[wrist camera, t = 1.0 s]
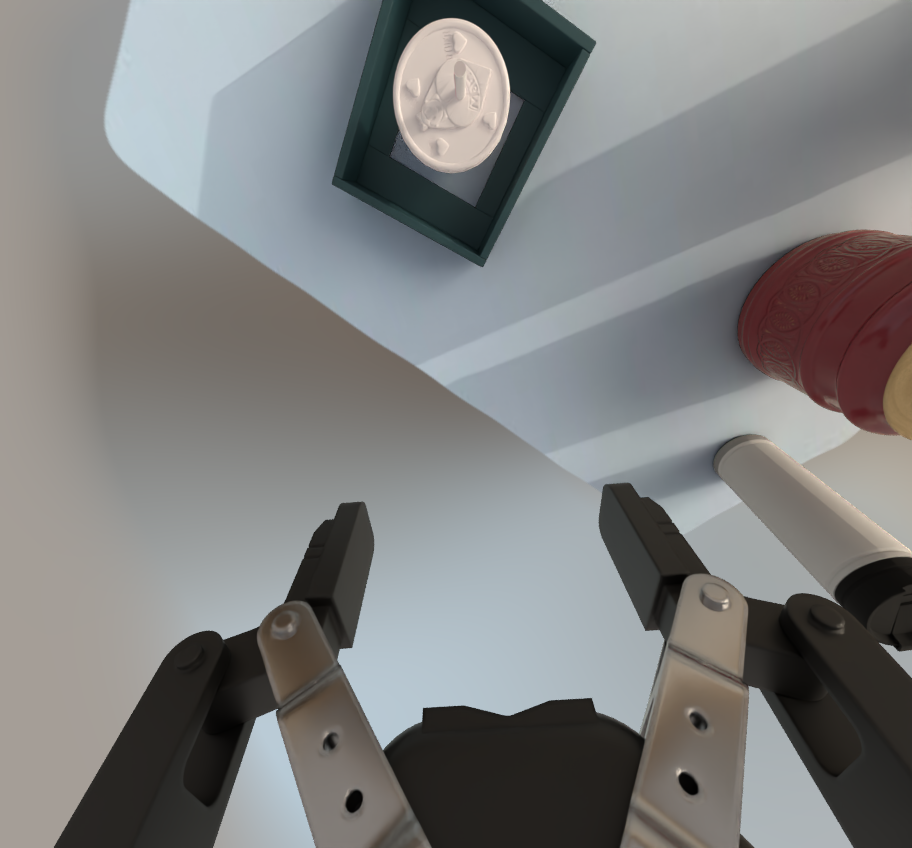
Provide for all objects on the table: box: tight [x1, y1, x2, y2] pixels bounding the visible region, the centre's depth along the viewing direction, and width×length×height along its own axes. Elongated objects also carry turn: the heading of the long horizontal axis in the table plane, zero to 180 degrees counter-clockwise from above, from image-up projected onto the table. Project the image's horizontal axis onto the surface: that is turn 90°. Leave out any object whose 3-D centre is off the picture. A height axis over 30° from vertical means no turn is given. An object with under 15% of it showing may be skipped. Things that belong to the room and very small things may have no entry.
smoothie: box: [393, 18, 510, 173], centre depth 22 cm, size 6×6×14 cm
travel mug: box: [713, 435, 912, 651], centre depth 35 cm, size 6×7×20 cm
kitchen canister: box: [738, 230, 912, 440], centre depth 27 cm, size 13×13×18 cm
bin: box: [332, 0, 596, 267], centre depth 26 cm, size 14×12×4 cm
